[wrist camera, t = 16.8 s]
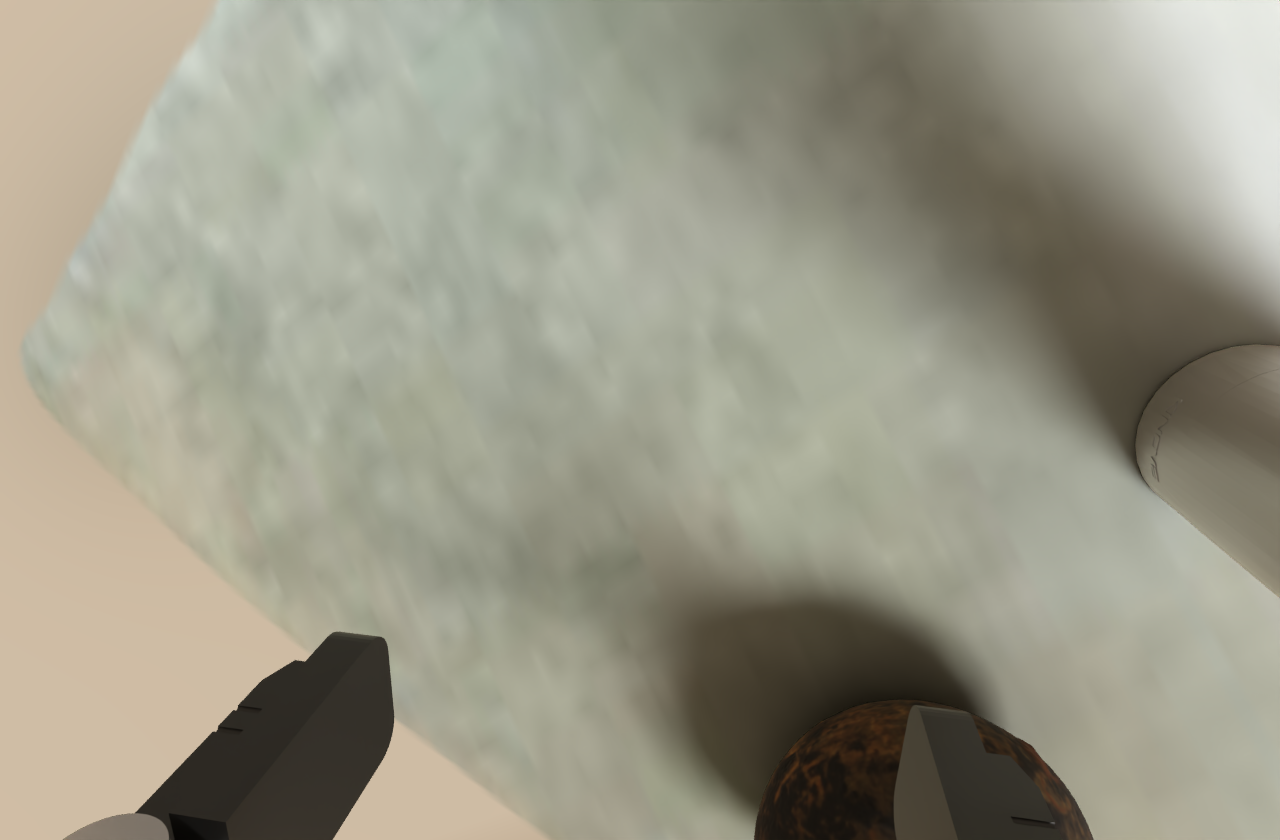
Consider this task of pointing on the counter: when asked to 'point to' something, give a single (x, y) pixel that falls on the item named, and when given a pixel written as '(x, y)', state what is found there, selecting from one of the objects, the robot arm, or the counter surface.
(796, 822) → the glass bottle
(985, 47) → the counter surface
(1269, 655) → the counter surface
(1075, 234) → the counter surface
